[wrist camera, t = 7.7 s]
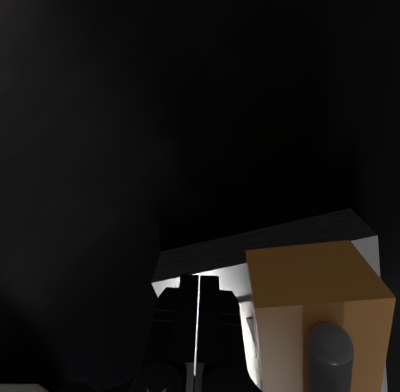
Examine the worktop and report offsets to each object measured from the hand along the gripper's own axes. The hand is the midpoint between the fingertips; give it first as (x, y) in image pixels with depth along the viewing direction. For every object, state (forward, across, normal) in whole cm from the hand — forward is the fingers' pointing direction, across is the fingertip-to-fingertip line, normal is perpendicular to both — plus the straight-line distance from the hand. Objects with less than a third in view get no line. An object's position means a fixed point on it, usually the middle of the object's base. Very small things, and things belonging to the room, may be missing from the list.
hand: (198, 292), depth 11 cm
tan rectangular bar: (+1, -5, +5) cm, 7 cm away
